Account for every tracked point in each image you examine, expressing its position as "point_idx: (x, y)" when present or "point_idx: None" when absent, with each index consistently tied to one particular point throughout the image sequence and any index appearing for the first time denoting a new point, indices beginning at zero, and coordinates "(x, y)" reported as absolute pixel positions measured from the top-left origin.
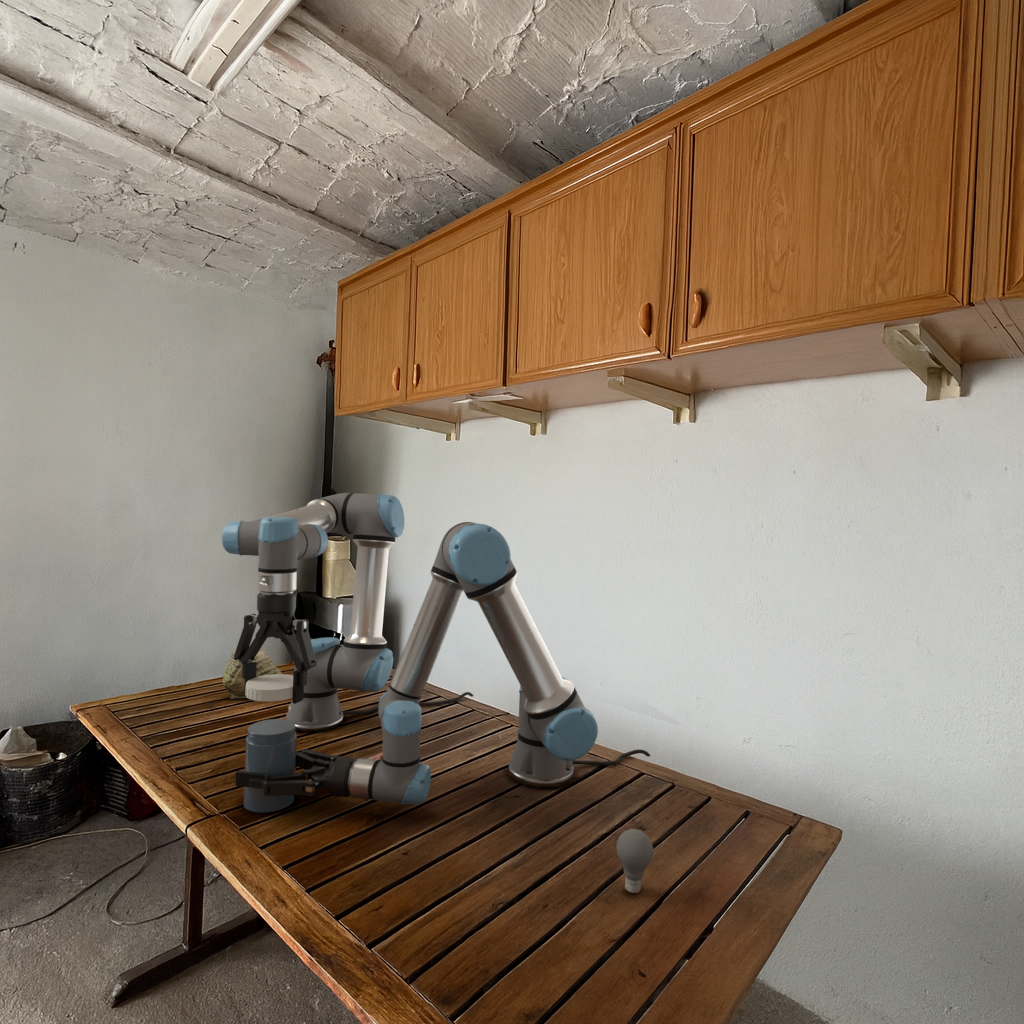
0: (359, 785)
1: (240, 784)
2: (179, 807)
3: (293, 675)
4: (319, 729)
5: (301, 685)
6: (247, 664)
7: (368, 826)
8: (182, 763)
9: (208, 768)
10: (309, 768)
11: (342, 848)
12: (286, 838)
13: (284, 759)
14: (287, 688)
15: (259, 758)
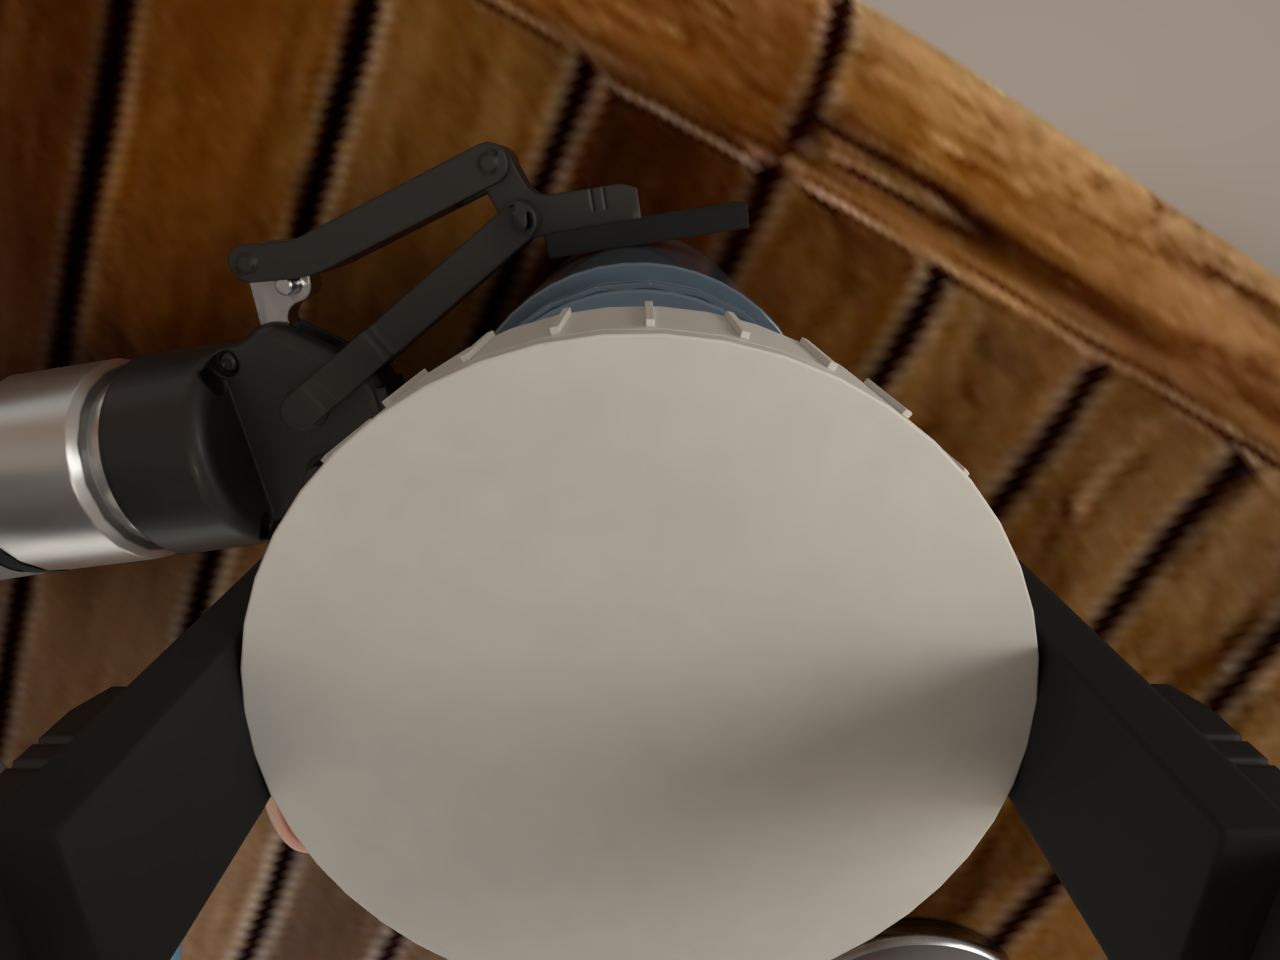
0: (49, 370)
1: (707, 206)
2: (1002, 142)
3: (110, 770)
4: None
5: (112, 698)
6: (1271, 875)
7: (90, 304)
8: (1249, 520)
9: (1099, 519)
10: None
11: (49, 86)
12: (335, 69)
13: None
14: (259, 567)
15: (607, 256)
